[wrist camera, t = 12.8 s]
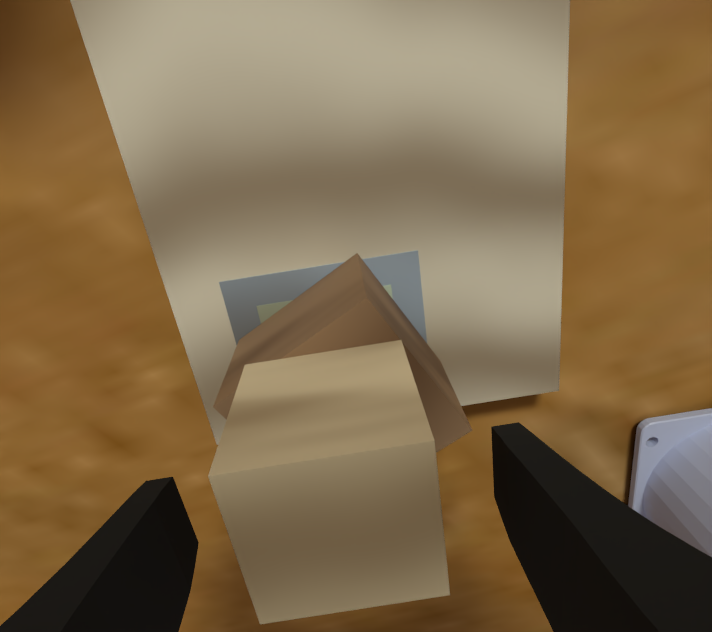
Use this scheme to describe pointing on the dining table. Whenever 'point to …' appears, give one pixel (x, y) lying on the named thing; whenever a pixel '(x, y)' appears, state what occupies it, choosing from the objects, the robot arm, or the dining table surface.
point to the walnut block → (349, 341)
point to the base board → (349, 167)
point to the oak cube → (331, 484)
